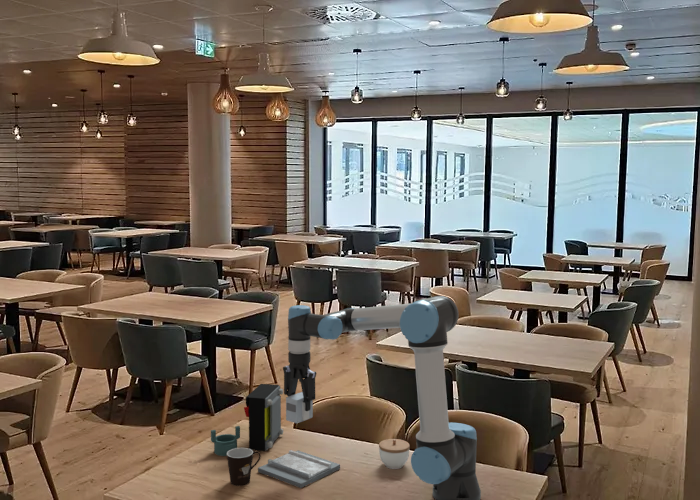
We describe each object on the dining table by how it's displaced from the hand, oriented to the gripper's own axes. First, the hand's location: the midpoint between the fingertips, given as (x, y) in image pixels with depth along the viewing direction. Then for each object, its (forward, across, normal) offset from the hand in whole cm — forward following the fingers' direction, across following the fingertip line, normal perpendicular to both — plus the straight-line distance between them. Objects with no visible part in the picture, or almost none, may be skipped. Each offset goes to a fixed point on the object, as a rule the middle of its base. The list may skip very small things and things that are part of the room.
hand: (299, 417), depth 237 cm
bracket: (+19, +32, +5) cm, 37 cm away
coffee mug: (+19, +8, +18) cm, 27 cm away
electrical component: (+19, +28, -11) cm, 35 cm away
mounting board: (+19, 0, 0) cm, 19 cm away
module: (0, 0, 0) cm, 0 cm away
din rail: (+17, 0, 0) cm, 17 cm away
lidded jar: (+19, -23, -24) cm, 38 cm away
